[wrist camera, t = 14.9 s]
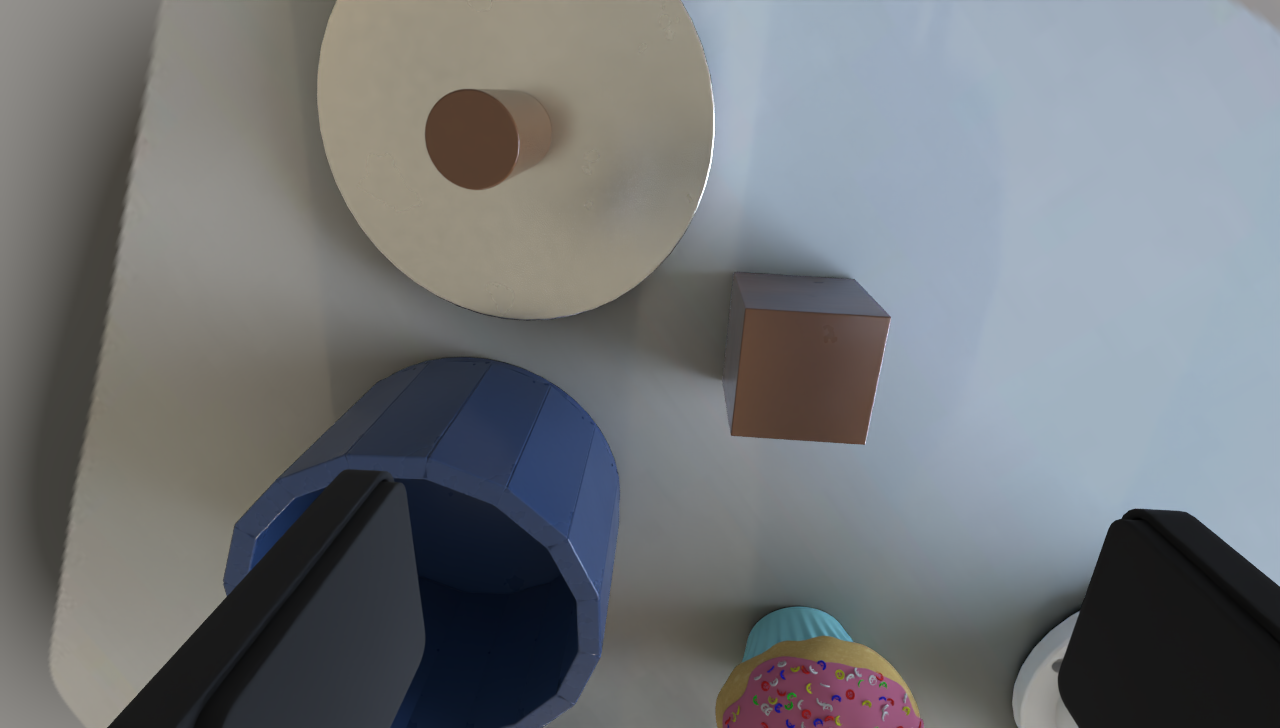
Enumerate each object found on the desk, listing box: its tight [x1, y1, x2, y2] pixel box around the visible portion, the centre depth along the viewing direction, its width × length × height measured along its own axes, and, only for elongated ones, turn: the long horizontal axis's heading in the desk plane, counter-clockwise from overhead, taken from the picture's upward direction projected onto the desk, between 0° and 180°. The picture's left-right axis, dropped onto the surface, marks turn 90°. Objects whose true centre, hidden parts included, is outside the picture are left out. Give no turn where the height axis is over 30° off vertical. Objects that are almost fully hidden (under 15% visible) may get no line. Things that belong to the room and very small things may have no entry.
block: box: [722, 272, 891, 445], centre depth 24 cm, size 5×5×5 cm
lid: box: [317, 0, 715, 320], centre depth 20 cm, size 14×14×6 cm
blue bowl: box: [223, 357, 620, 728], centre depth 26 cm, size 13×13×8 cm
